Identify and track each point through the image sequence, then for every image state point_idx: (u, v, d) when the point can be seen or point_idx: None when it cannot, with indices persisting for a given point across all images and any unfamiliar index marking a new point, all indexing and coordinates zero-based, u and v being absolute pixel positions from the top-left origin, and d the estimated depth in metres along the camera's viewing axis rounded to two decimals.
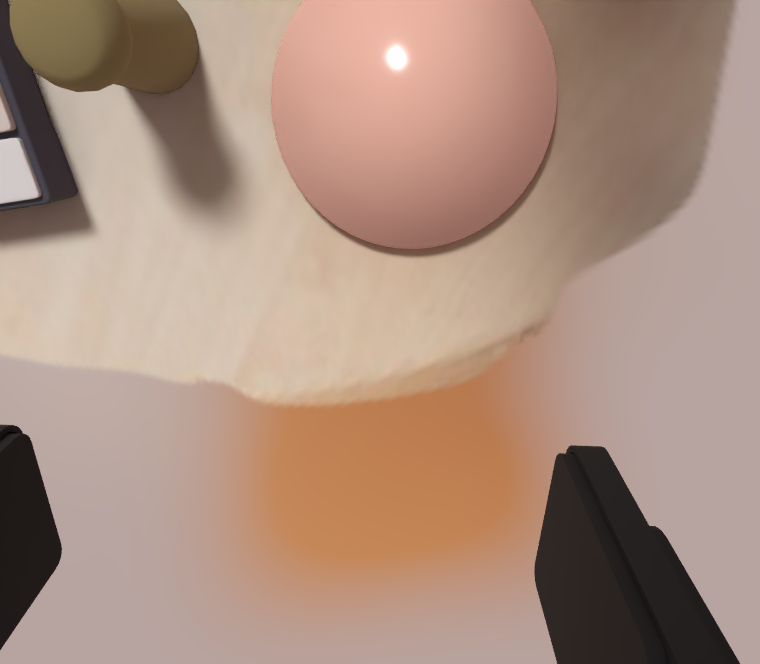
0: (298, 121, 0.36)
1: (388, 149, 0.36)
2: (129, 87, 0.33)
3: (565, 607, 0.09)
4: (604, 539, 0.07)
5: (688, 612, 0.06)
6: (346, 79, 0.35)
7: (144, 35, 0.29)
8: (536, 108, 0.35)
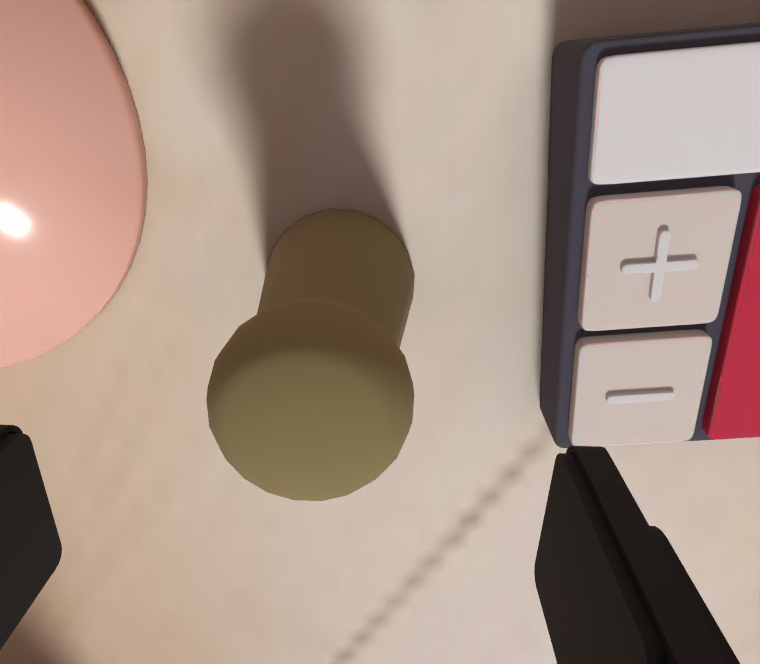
0: (86, 147, 0.20)
1: None
2: (342, 247, 0.18)
3: (566, 607, 0.09)
4: (604, 539, 0.07)
5: (688, 612, 0.06)
6: (9, 209, 0.21)
7: None
8: None
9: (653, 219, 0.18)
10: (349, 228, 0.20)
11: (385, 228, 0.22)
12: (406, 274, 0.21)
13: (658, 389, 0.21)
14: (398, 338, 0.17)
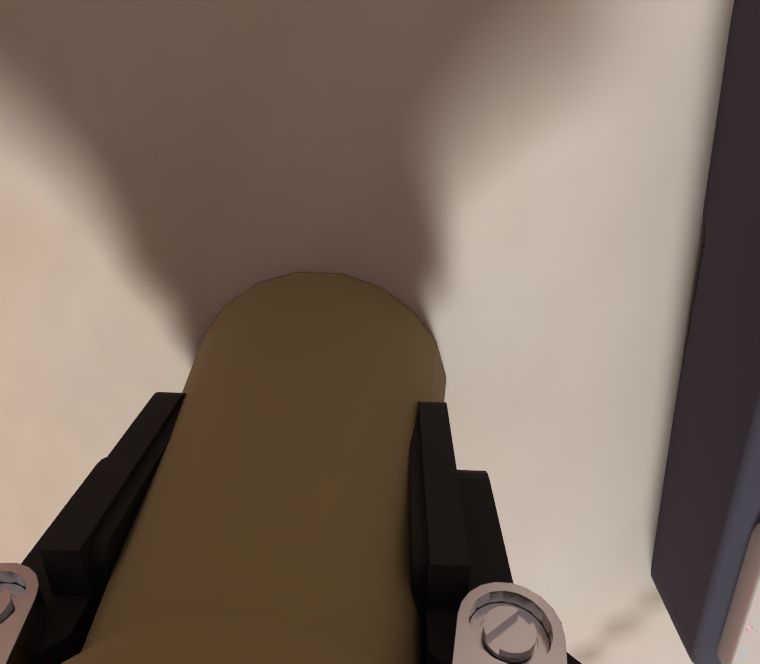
0: None
1: None
2: (312, 375, 0.09)
3: None
4: (415, 474, 0.09)
5: (457, 525, 0.07)
6: None
7: None
8: None
9: None
10: (331, 320, 0.11)
11: (397, 306, 0.12)
12: (435, 395, 0.12)
13: None
14: None
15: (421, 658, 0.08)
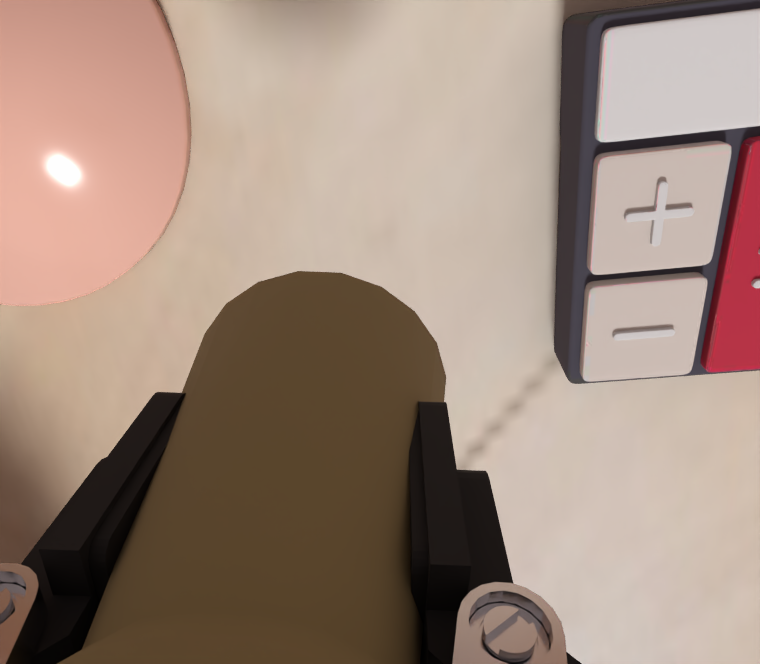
0: (139, 101, 0.22)
1: None
2: (312, 373, 0.09)
3: None
4: (415, 474, 0.09)
5: (457, 526, 0.07)
6: (70, 157, 0.23)
7: None
8: None
9: (653, 172, 0.20)
10: (331, 319, 0.11)
11: (397, 305, 0.12)
12: (435, 394, 0.12)
13: (659, 327, 0.23)
14: None
15: (421, 658, 0.08)
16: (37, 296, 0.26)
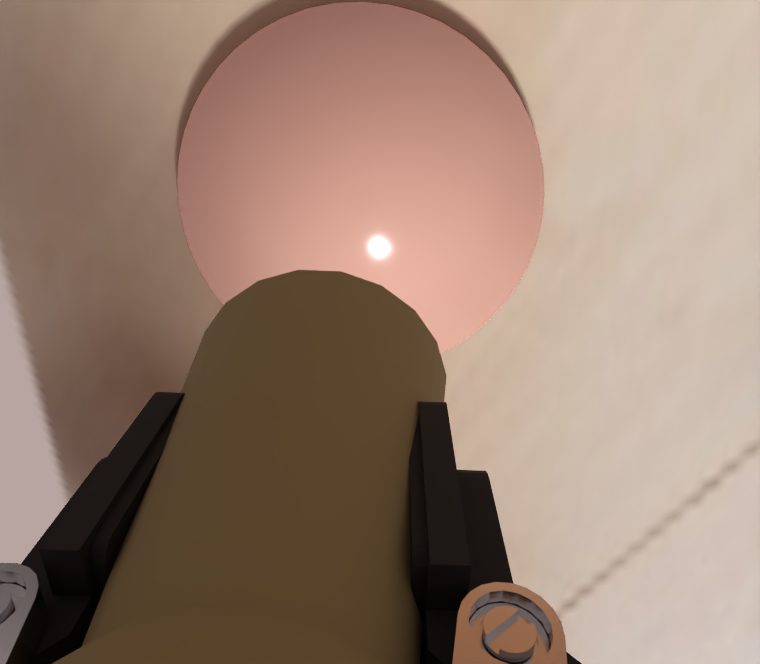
0: (509, 213, 0.27)
1: (395, 167, 0.27)
2: (312, 371, 0.09)
3: None
4: (415, 474, 0.09)
5: (457, 526, 0.07)
6: (438, 255, 0.28)
7: None
8: (203, 201, 0.28)
9: None
10: (331, 317, 0.11)
11: (397, 303, 0.12)
12: (435, 393, 0.12)
13: None
14: None
15: (421, 658, 0.08)
16: None
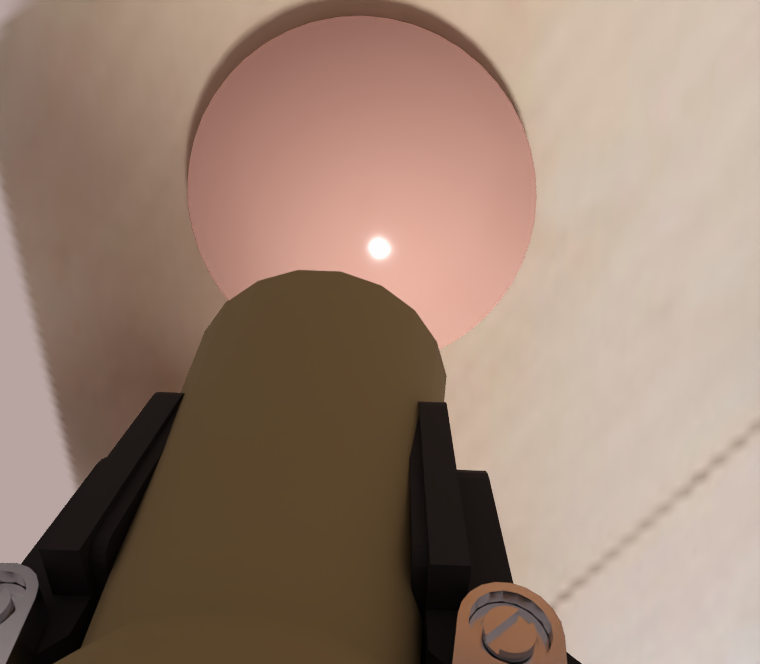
0: (503, 215, 0.29)
1: (394, 171, 0.28)
2: (312, 372, 0.09)
3: None
4: (415, 474, 0.09)
5: (457, 525, 0.07)
6: (436, 255, 0.30)
7: None
8: (212, 203, 0.29)
9: None
10: (331, 317, 0.11)
11: (397, 304, 0.12)
12: (435, 393, 0.12)
13: None
14: None
15: (421, 658, 0.08)
16: None
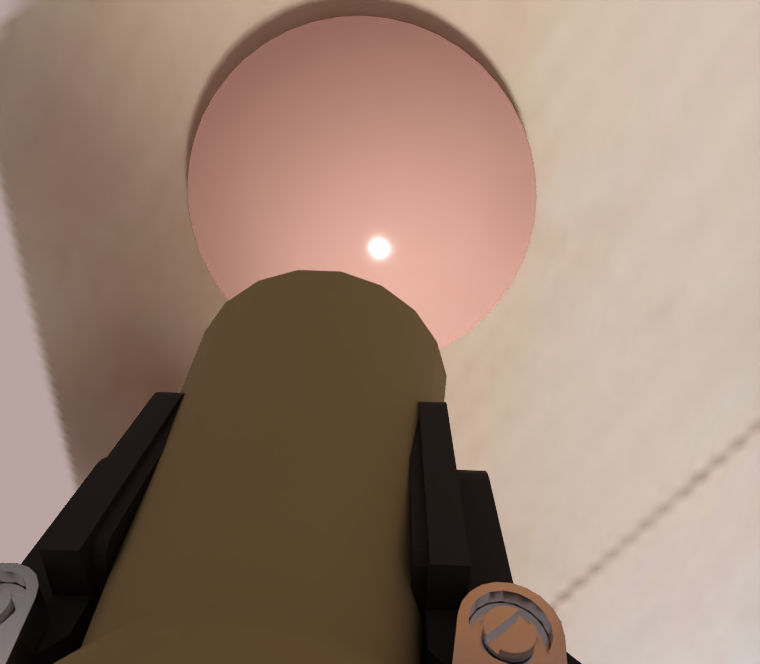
0: (503, 215, 0.29)
1: (394, 171, 0.28)
2: (312, 372, 0.09)
3: None
4: (415, 474, 0.09)
5: (457, 525, 0.07)
6: (436, 255, 0.30)
7: None
8: (212, 203, 0.29)
9: None
10: (331, 317, 0.11)
11: (397, 304, 0.12)
12: (435, 393, 0.12)
13: None
14: None
15: (421, 658, 0.08)
16: None
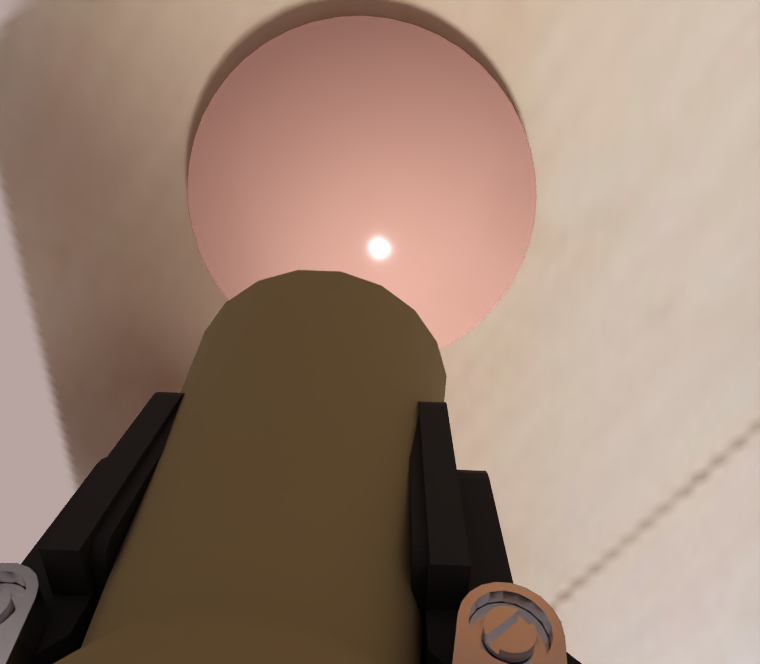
0: (503, 215, 0.29)
1: (394, 171, 0.28)
2: (312, 372, 0.09)
3: None
4: (415, 474, 0.09)
5: (457, 525, 0.07)
6: (436, 255, 0.30)
7: None
8: (212, 203, 0.29)
9: None
10: (331, 317, 0.11)
11: (397, 304, 0.12)
12: (435, 393, 0.12)
13: None
14: None
15: (421, 658, 0.08)
16: None
